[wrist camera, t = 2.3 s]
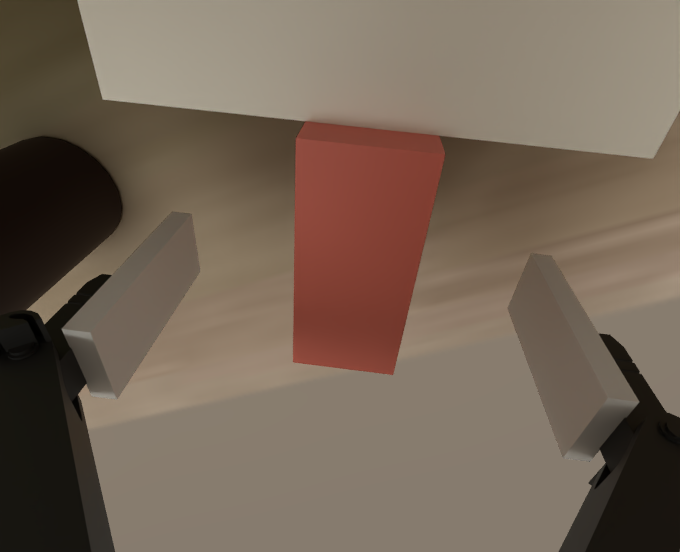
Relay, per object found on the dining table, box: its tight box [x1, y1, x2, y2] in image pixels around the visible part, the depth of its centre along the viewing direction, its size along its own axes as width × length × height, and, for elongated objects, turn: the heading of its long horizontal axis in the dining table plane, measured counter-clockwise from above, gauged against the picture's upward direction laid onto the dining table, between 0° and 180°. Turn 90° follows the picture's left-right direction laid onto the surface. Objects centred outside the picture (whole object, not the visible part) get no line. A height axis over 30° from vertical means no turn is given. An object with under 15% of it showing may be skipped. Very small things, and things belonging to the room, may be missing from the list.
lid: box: [77, 0, 680, 375], centre depth 9 cm, size 20×14×2 cm
